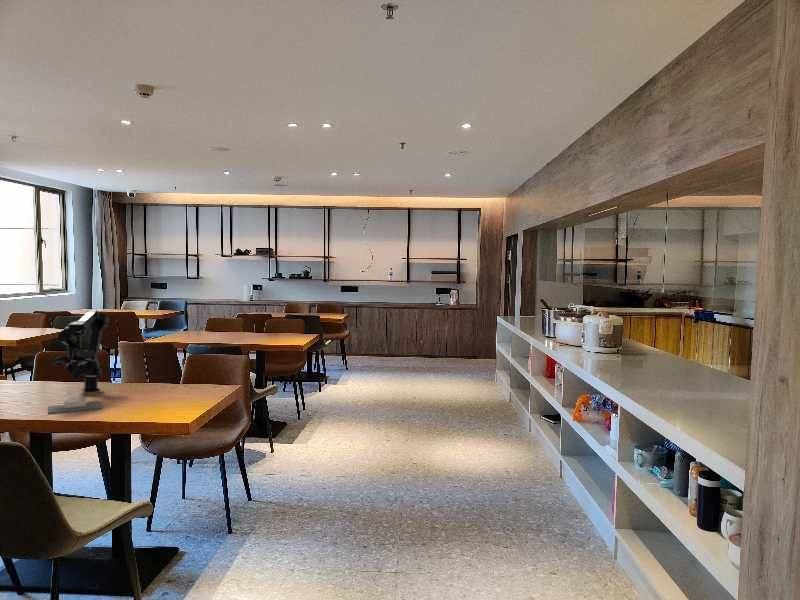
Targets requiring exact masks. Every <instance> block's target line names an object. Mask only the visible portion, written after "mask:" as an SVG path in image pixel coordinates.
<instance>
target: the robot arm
mask: <svg viewBox="0 0 800 600" xmlns="http://www.w3.org/2000/svg"><path fill="white" fill-rule="evenodd" d="M109 324H110V318H109V316H107V314H105V313H101V311H99V310H95V309H94V310H87V311H86V313H85V314H84V315H83V316H82V317H81V318H80V319H79V320H75V321H73V322H70V323H68V325H67V326H66V327H64V329H62V330H61V331H60V332H59V333H58V335H57V338H58V341H60V342H62V344H64V345H65V346H67V347H66V348H67V351H65V355H67V356H65V355H58V356H56V357H54V358H53V359H52V363H51V364H52V366H55V367H57V366H58V367H59V366H61V364H65V366H64V367H63V368H64V369H66V370H67V372H68V373H69V374H70V376H71V377H72V379H73V380H74V381H75V382H77V381H78V380H79V378H80V379H84V381H83V382H84V388H82V389H81V390H82V391H84V392H93V391H100V388H99V387H98V379H102V376H103V372H102V370H101V368H100V363H99V361H98V357H99V356H98V355H99V351H100V345H101V341H102V337H103V336H102V335H103V333H104V332H105V331H106V330H107V329H108V325H109ZM89 326H90V330H91V334H90V338H89V339H90V340H89V343H88V347H87V350H85V349H84V348H82V338H81V337H80V336H84V335H86V333H87V332H88V327H89Z"/></svg>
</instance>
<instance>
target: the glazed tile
mask: <svg viewBox="0 0 800 600" xmlns="http://www.w3.org/2000/svg"><path fill="white" fill-rule="evenodd" d="M86 403H87V401H86V396H72V397H64V398H63V405H64V408H65V409H67V408H78V407H85V406H86Z"/></svg>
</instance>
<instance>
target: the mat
mask: <svg viewBox="0 0 800 600" xmlns="http://www.w3.org/2000/svg"><path fill="white" fill-rule="evenodd" d="M94 410H103V406H102V403H101V401H92V402H86V406H85V407H78V408H67V409H65V408H64V404H58V405H48V406H47V415H53V414H65V413H75V412H84V411H85V412H86V411H94Z"/></svg>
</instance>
